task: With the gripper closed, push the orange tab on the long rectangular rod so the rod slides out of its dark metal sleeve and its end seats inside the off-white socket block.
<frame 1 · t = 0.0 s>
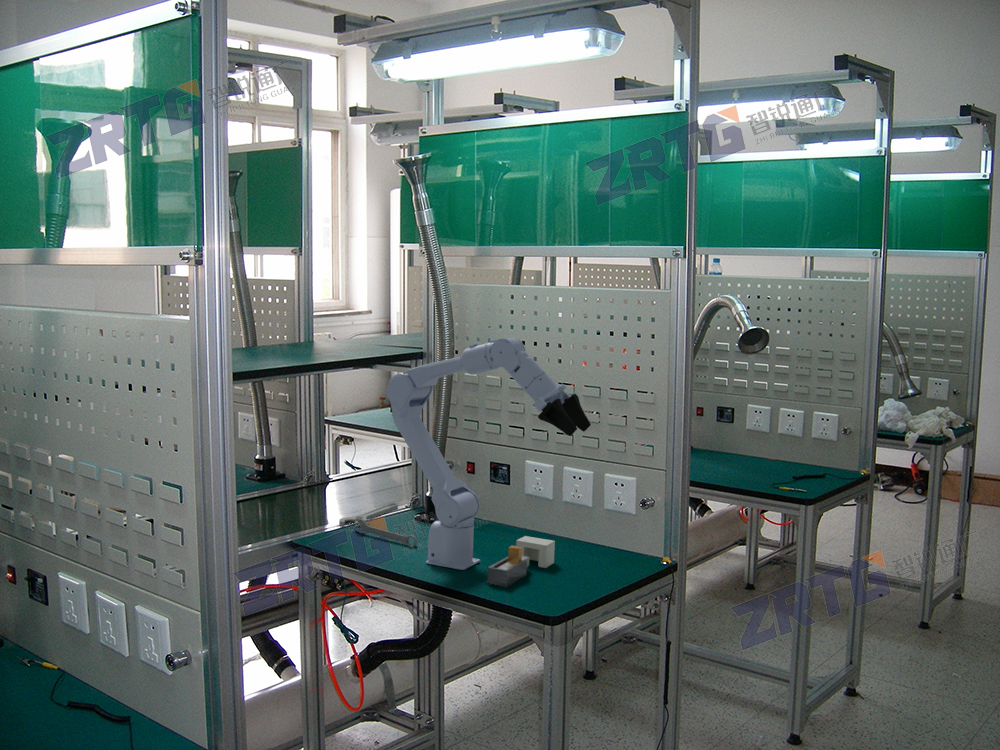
hand: (580, 430, 186), 32 cm above the workbench, tool tilted 50°, fingers open, 7 cm apart
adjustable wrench: (373, 519, 239), on the workbench
sleeve: (507, 578, 191), on the workbench
socket block: (534, 562, 203), on the workbench
combination wrench: (384, 540, 218), on the workbench
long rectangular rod: (512, 560, 193), point 3 cm above the workbench, slide at 0.0 cm
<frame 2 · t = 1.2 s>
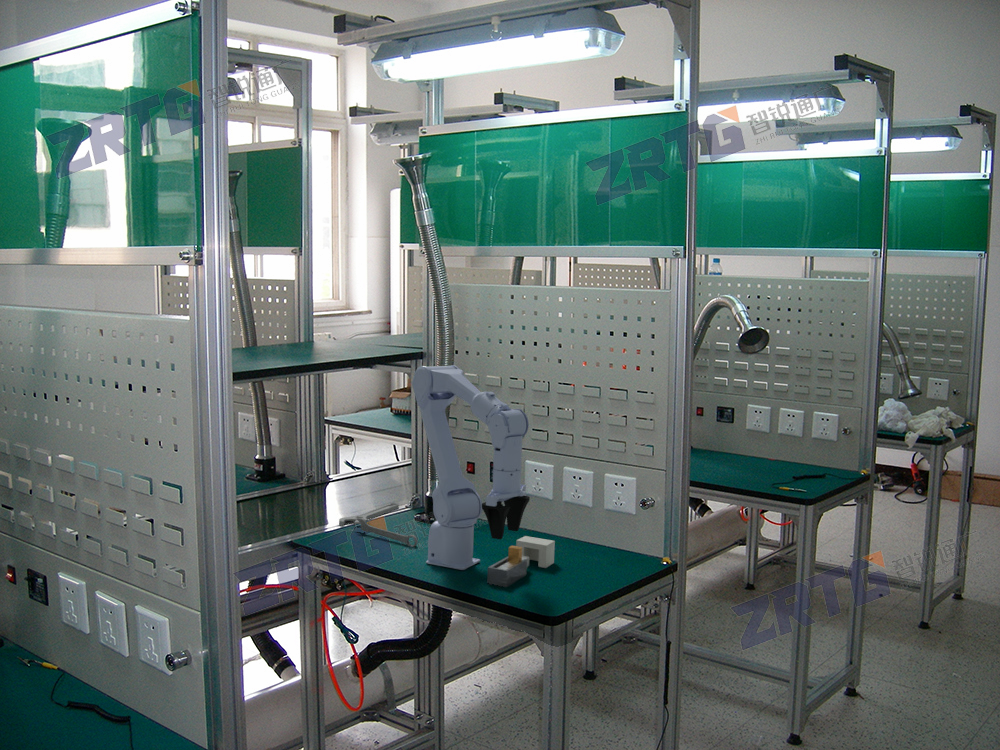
hand: (505, 534, 188), 10 cm above the workbench, tool pointing down, fingers open, 7 cm apart
nothing on the workbench moved.
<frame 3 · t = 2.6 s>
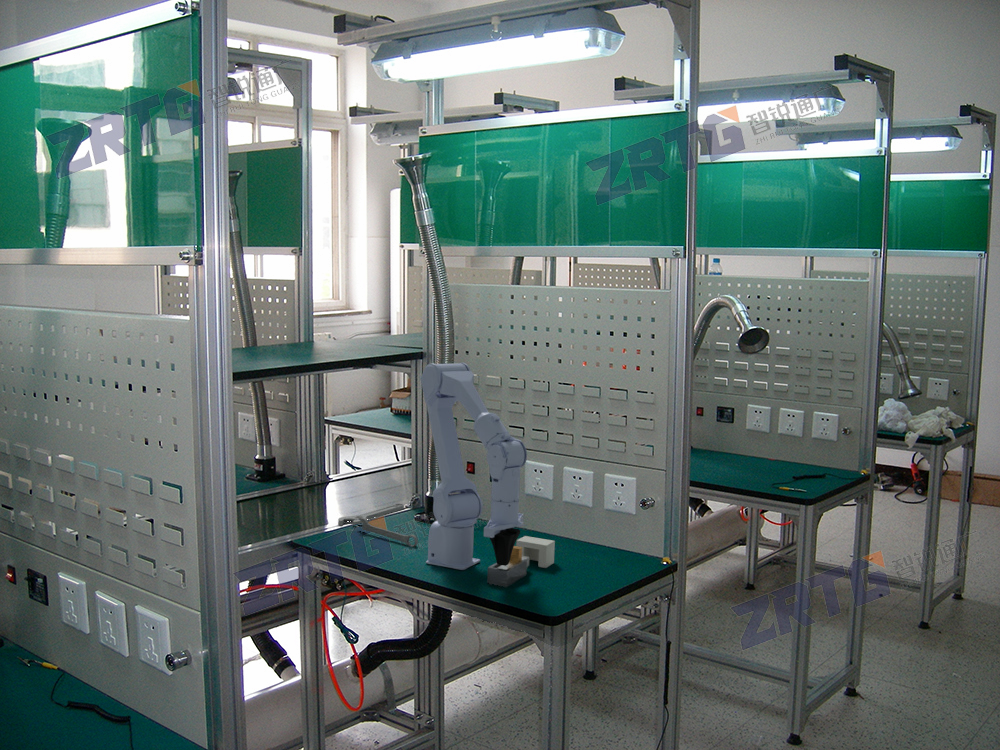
hand: (502, 564, 188), 4 cm above the workbench, tool pointing down, fingers closed
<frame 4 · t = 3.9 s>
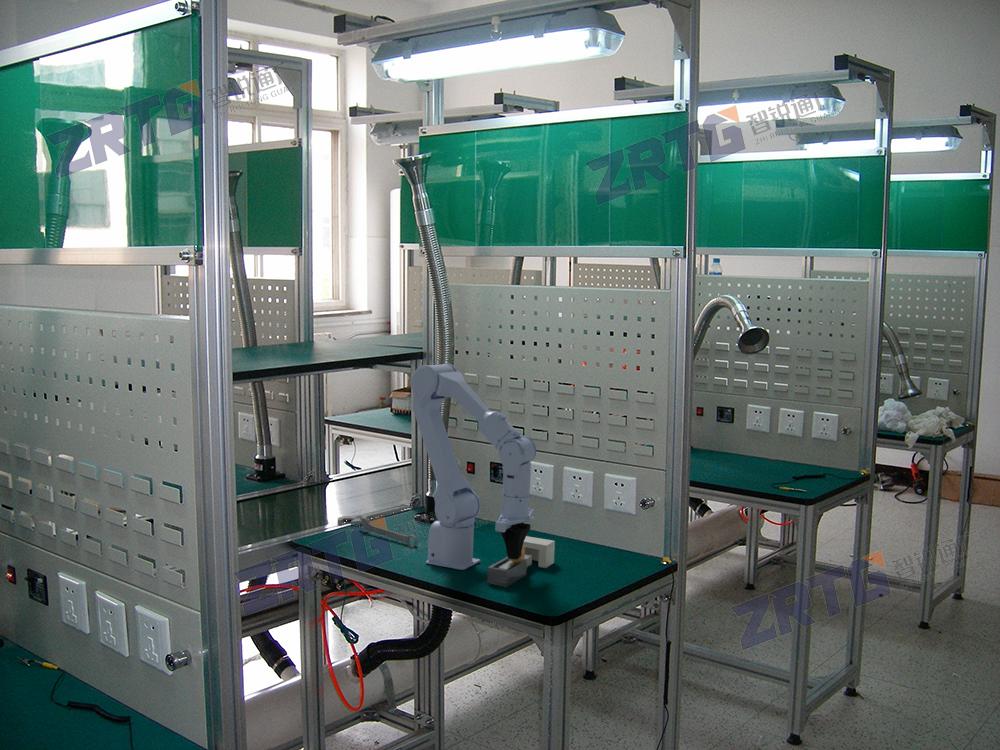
hand: (513, 558, 193), 4 cm above the workbench, tool pointing down, fingers closed
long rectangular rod: (515, 558, 194), point 3 cm above the workbench, slide at 1.4 cm, touching gripper
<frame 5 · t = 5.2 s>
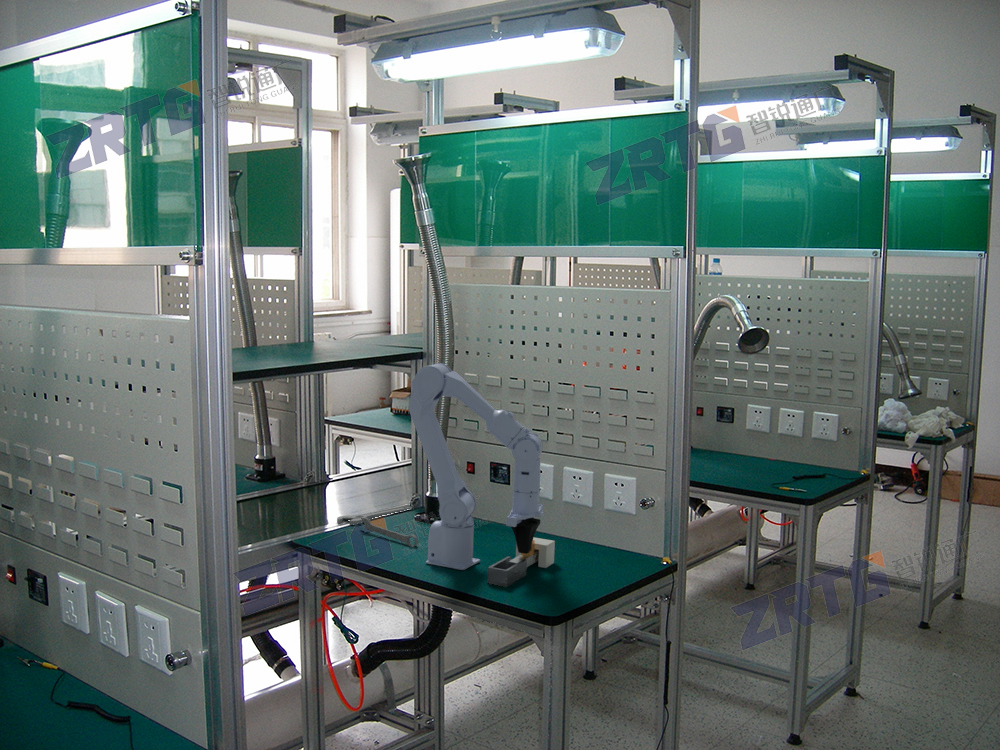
hand: (523, 552, 198), 4 cm above the workbench, tool pointing down, fingers closed
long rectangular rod: (525, 553, 198), point 3 cm above the workbench, slide at 6.5 cm, touching gripper
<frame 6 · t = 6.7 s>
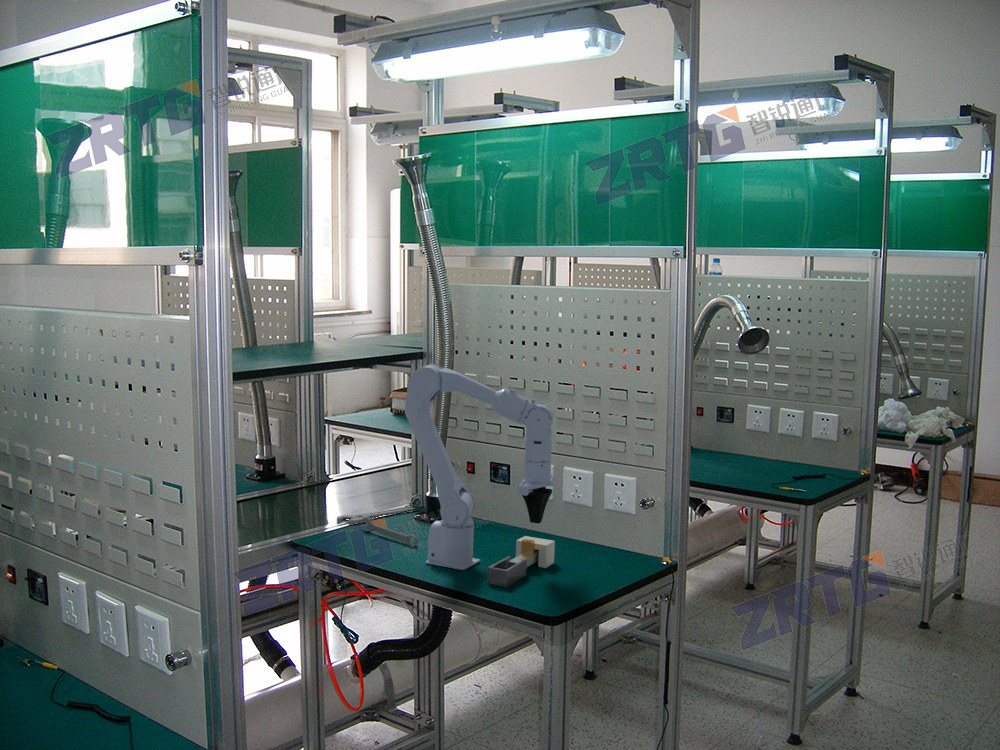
hand: (535, 522, 198), 10 cm above the workbench, tool pointing down, fingers closed
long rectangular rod: (525, 553, 198), point 3 cm above the workbench, slide at 6.5 cm
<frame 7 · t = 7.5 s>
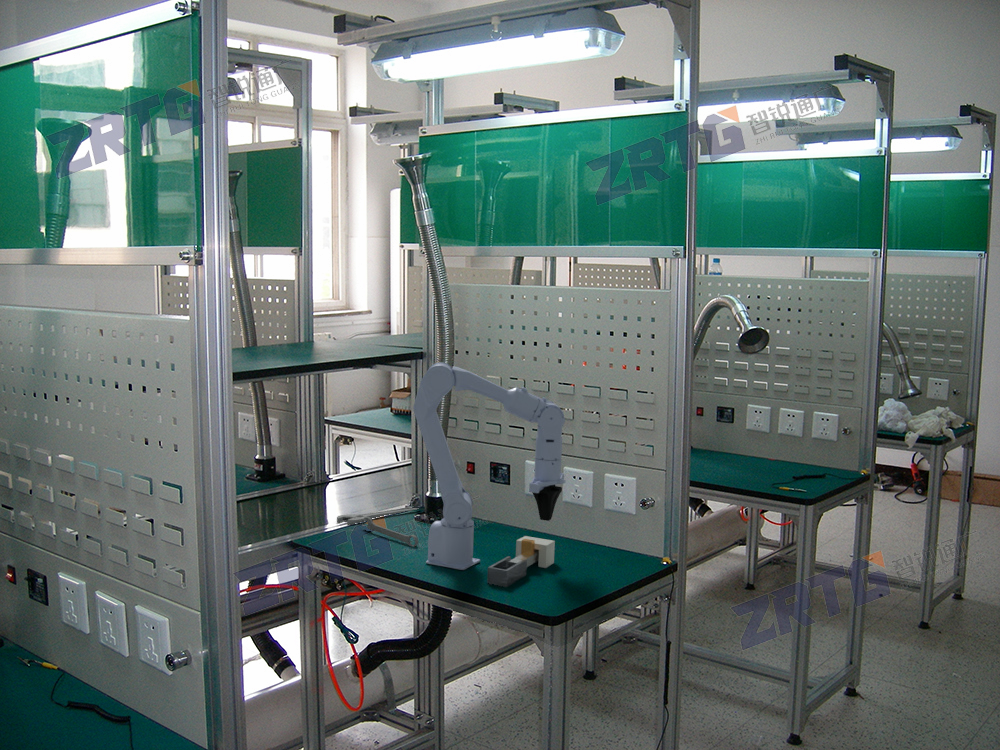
hand: (545, 519, 200), 10 cm above the workbench, tool pointing down, fingers closed
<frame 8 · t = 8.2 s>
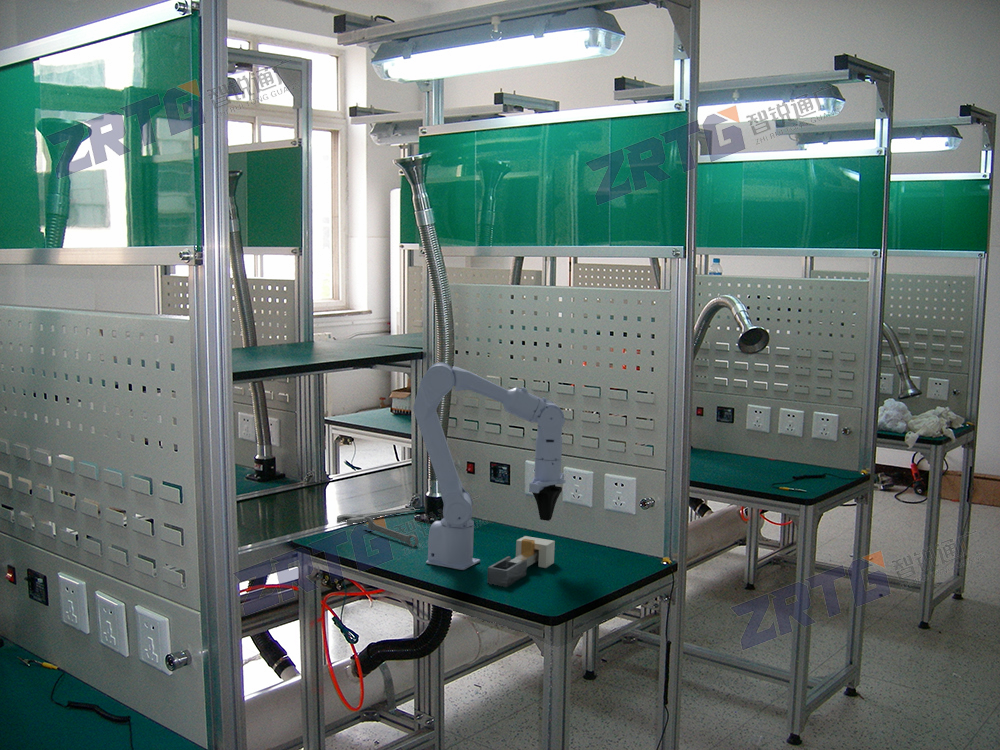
hand: (545, 519, 200), 10 cm above the workbench, tool pointing down, fingers closed
at the end: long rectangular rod slide at 6.5 cm; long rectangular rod touching nothing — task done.
